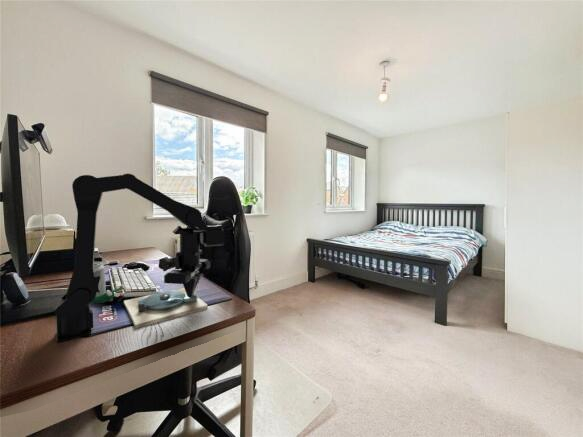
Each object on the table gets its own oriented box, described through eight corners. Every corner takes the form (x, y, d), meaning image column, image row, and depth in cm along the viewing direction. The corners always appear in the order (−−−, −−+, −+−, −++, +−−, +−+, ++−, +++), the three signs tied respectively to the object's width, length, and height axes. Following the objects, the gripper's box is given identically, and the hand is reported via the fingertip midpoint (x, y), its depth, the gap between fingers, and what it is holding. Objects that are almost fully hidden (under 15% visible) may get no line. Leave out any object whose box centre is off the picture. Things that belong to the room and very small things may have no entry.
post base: (135, 328, 66) (135, 316, 66) (123, 303, 81) (123, 294, 81) (207, 308, 79) (207, 298, 79) (186, 290, 94) (186, 281, 94)
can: (101, 301, 83) (100, 265, 82) (73, 304, 80) (71, 267, 79) (108, 292, 89) (107, 259, 88) (83, 295, 87) (81, 261, 86)
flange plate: (131, 311, 73) (130, 294, 72) (146, 295, 84) (146, 280, 84) (193, 307, 76) (193, 291, 76) (200, 293, 88) (200, 278, 87)
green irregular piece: (97, 310, 80) (108, 299, 79) (90, 301, 81) (100, 289, 79) (122, 299, 89) (132, 288, 88) (115, 290, 90) (125, 280, 88)
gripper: (180, 242, 87) (180, 286, 88) (145, 252, 69) (145, 308, 70) (211, 243, 87) (210, 287, 88) (184, 254, 68) (184, 310, 69)
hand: (189, 297), depth 79 cm, fingers closed
